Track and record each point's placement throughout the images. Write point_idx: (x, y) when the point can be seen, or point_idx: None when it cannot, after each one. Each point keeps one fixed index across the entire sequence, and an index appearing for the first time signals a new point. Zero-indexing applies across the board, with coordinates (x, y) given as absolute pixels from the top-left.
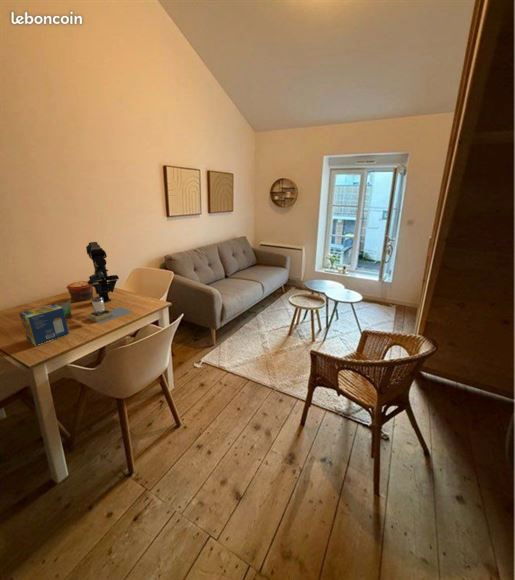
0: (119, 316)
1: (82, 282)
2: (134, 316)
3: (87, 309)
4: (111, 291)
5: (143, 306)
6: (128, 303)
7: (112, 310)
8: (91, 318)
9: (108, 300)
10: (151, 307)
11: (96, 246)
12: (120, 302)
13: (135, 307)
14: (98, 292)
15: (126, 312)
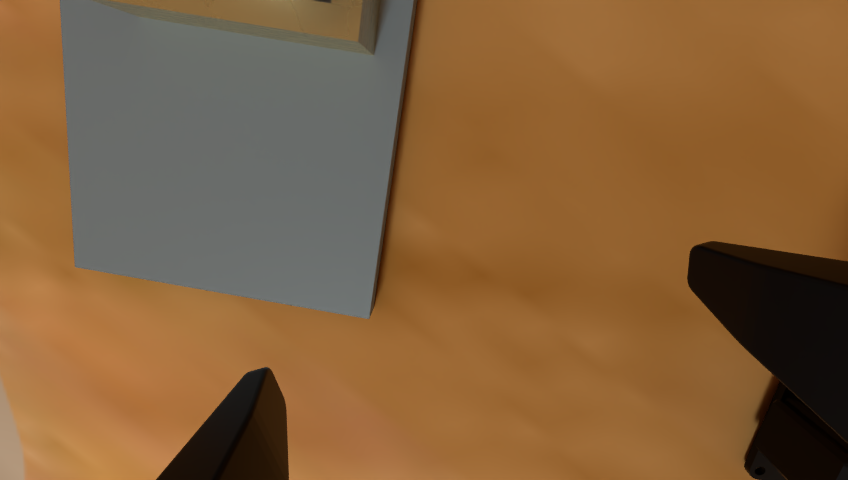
0: (69, 65)
1: None
2: (2, 195)
3: (821, 97)
4: (242, 386)
5: None
6: (436, 460)
7: (356, 183)
8: None
9: (758, 436)
10: (92, 458)
11: None
12: (561, 452)
13: None
14: (778, 257)
15: (123, 210)
